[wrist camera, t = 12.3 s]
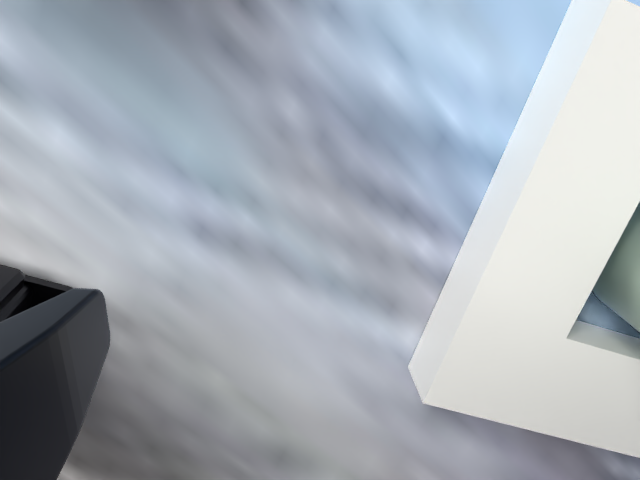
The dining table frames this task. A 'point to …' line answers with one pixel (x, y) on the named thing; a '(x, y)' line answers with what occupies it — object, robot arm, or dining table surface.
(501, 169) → the housing
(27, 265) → the dining table surface
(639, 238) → the capped bottle
